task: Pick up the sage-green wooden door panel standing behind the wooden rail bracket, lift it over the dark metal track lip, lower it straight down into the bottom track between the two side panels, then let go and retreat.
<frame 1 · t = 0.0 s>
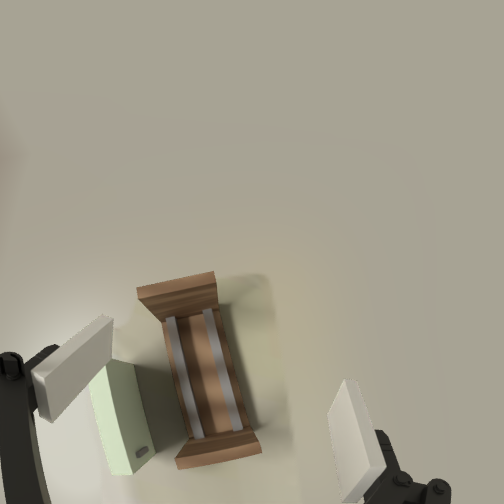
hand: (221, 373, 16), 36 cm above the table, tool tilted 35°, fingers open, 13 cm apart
door panel: (135, 410, 45), on the table
wooden rail bracket: (204, 374, 49), on the table
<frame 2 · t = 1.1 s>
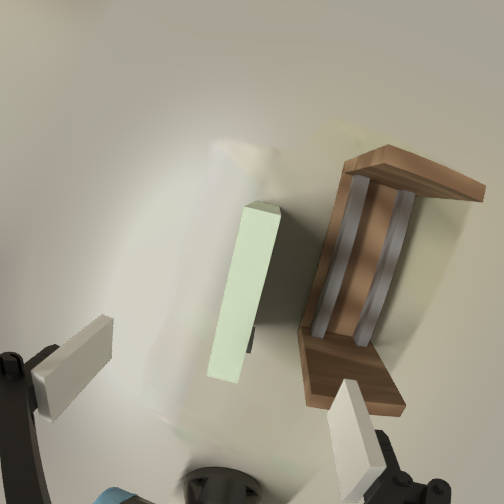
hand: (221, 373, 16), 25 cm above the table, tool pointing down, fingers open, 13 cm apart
door panel: (252, 265, 40), on the table
wooden rail bracket: (358, 260, 39), on the table
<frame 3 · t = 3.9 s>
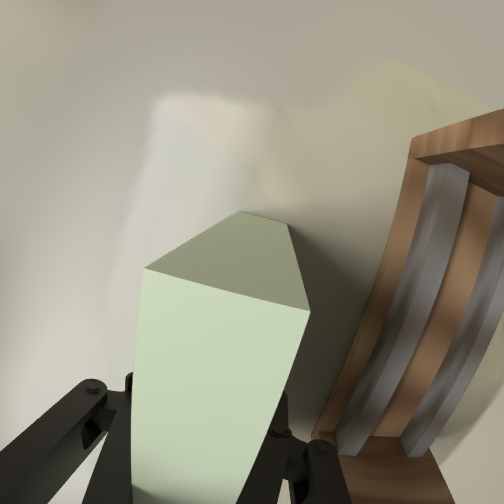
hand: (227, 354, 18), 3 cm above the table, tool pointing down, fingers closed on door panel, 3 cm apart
door panel: (233, 335, 21), on the table, touching gripper
wooden rail bracket: (426, 322, 20), on the table
when the fingers open (6 cm above the table, at t = 9.9 s): door panel drops 2 cm, resting on wooden rail bracket.
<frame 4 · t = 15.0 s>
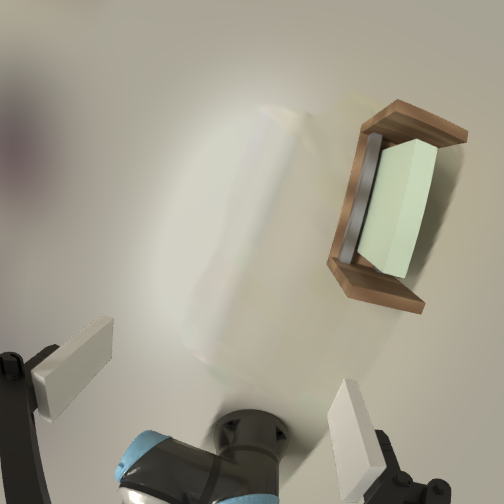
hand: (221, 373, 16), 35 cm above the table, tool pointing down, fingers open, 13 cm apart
door panel: (377, 202, 46), point 1 cm above the table, touching wooden rail bracket
wooden rail bracket: (375, 202, 47), on the table
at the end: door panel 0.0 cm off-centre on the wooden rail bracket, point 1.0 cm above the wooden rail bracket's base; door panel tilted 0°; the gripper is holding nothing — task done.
